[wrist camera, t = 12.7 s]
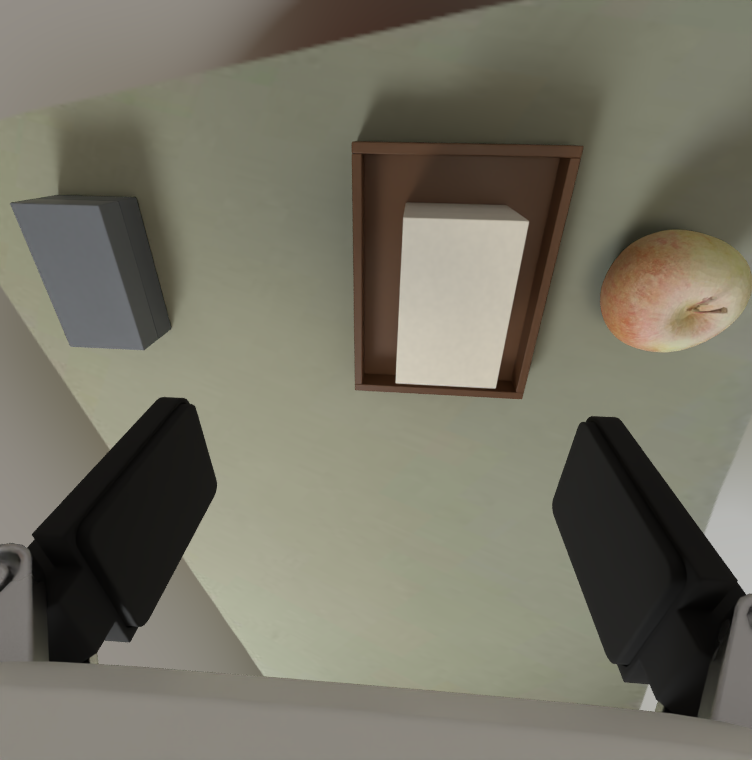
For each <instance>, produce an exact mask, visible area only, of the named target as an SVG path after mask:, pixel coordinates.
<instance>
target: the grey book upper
mask: <svg viewBox="0 0 752 760" xmlns="http://www.w3.org/2000/svg"><path fill="white" fill-rule="evenodd" d="M10 204H11V207H12V209H13V212H14V214H15V216H16V219H17V221H18V223H19V226H20V228H21V231H22V233H23V235H24V238H25V240H26V242H27V245H28V247H29V250H30V252H31V254H32V257H33V259H34V262H35V264H36V266H37V269H38V271H39V273H40V276H41V278H42V281H43V283H44V285H45V288H46V290H47V292H48V295H49V297H50V300H51V302H52V304H53V307H54V309H55V311H56V314H57V316H58V319H59V321H60V323H61V326H62V328H63V330H64V333H65V335H66V338H67V340H68V342H69V345H70V346H71V347H89V348H109V349H129V350H145V349H146V348H148V347H149V346H150V345H151V344H153V343H154V342H155V341H156V340H158V336H157V333H156V330H155V326H154V323H153V319H152V316H151V312H150V309H149V306H148V302H147V299H146V295H145V292H144V288H143V285H142V282H141V278H140V275H139V271H138V268H137V264H136V261H135V258H134V254H133V251H132V247H131V244H130V240H129V237H128V233H127V230H126V227H125V223H124V220H123V216H122V213H121V209H120V206H119V203H118V201H99V200H63V199H30V200H24V201H18V202H12V203H10Z"/></svg>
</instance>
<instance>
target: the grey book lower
mask: <svg viewBox="0 0 752 760" xmlns="http://www.w3.org/2000/svg"><path fill="white" fill-rule="evenodd" d="M36 199H63V200H99V201H118V203H119V206H120V209H121V213H122V216H123V220H124V223H125V227H126V230H127V233H128V237H129V240H130V244H131V247H132V251H133V254H134V258H135V261H136V264H137V268H138V271H139V275H140V278H141V282H142V285H143V288H144V292H145V295H146V299H147V302H148V306H149V309H150V312H151V316H152V319H153V323H154V326H155V330H156V333H157V336H158V339H159V338H160V337H162V336H163V335H164V334H165V333H167V332H168V331H169V330H170V329H171V325H170V322H169V318H168V314H167V311H166V307H165V303H164V299H163V296H162V292H161V288H160V285H159V281H158V277H157V273H156V270H155V266H154V262H153V258H152V255H151V251H150V247H149V244H148V240H147V236H146V232H145V229H144V225H143V221H142V218H141V214H140V210H139V206H138V203H137V199H136V197H113V196H77V195H54V196H48V197H42V198H36Z"/></svg>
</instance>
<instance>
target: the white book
mask: <svg viewBox="0 0 752 760" xmlns="http://www.w3.org/2000/svg"><path fill="white" fill-rule="evenodd" d="M528 225H529V221H528V220H527V219H526V218H524V217H523V216H521V215H512V214H477V213H441V212H406V211H405V212H404V215H403V233H402V254H401V275H400V296H399V318H398V339H397V360H396V381H395V383H400V384H418V385H437V386H456V387H475V388H494V389H495V388H496V385H497V380H498V375H499V370H500V365H501V360H502V355H503V350H504V345H505V340H506V335H507V330H508V325H509V320H510V315H511V310H512V305H513V300H514V295H515V290H516V285H517V280H518V275H519V270H520V265H521V260H522V255H523V250H524V245H525V240H526V235H527V230H528Z"/></svg>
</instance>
